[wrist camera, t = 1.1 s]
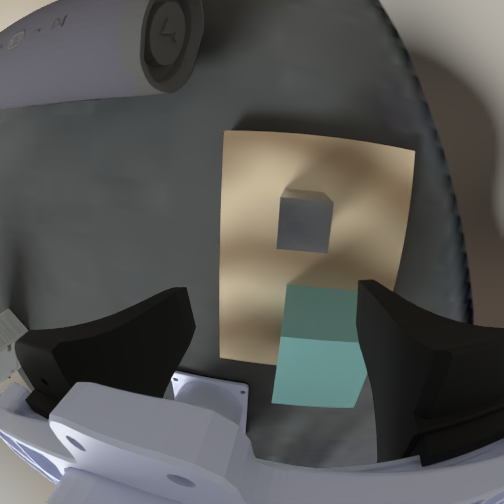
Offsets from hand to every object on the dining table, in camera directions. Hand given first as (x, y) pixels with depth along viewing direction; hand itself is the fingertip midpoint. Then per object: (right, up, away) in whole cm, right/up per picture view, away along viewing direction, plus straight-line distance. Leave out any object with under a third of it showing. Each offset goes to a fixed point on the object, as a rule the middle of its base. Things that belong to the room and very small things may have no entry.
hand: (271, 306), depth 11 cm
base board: (+4, +2, +10) cm, 10 cm away
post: (+3, +5, +7) cm, 9 cm away
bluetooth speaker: (-15, +20, +7) cm, 26 cm away
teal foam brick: (+4, -3, +9) cm, 10 cm away
